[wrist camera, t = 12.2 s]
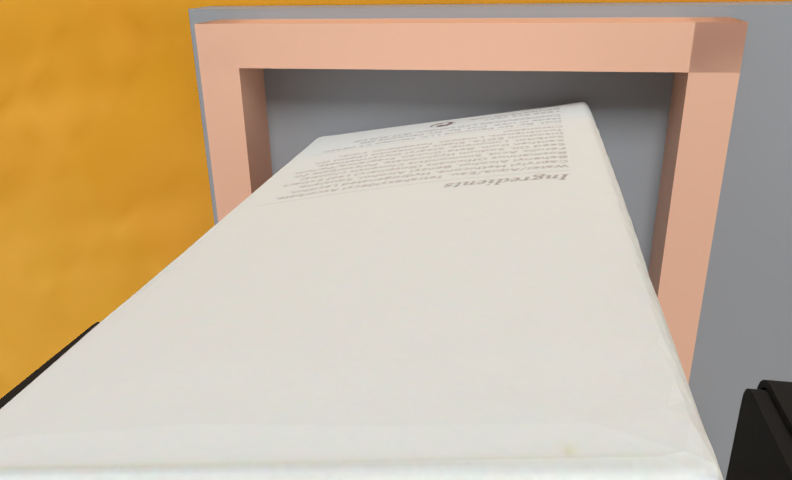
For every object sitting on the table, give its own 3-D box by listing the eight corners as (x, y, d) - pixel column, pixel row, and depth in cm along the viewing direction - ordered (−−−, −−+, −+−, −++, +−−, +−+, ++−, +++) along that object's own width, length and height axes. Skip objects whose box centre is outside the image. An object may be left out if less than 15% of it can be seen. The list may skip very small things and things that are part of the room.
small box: (316, 131, 14) (-133, 468, 5) (593, 94, 13) (740, 459, 3) (383, 446, 17) (181, 1064, 7) (618, 443, 16) (738, 1189, 6)
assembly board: (1208, -2, 12) (1811, 28, 6) (990, 544, 16) (1224, 845, 10) (209, 6, 15) (17, 31, 9) (260, 455, 19) (149, 650, 14)
